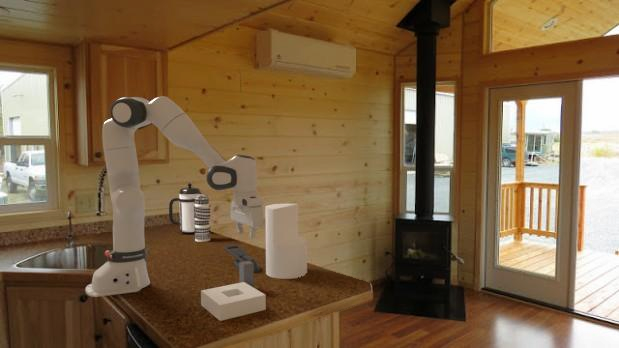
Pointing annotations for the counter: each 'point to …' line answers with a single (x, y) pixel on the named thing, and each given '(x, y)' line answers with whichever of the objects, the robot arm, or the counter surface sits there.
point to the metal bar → (246, 272)
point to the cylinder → (284, 243)
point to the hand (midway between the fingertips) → (246, 235)
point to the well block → (233, 300)
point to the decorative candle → (202, 218)
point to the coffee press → (185, 208)
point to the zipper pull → (241, 256)
